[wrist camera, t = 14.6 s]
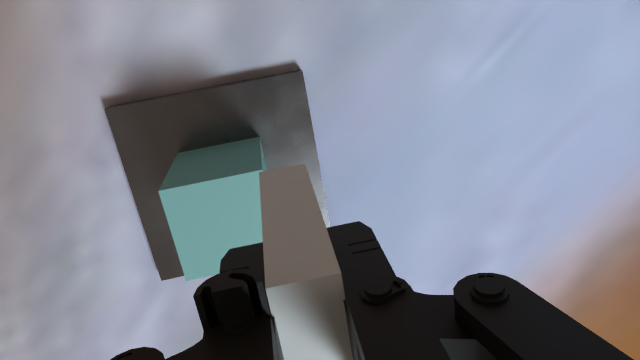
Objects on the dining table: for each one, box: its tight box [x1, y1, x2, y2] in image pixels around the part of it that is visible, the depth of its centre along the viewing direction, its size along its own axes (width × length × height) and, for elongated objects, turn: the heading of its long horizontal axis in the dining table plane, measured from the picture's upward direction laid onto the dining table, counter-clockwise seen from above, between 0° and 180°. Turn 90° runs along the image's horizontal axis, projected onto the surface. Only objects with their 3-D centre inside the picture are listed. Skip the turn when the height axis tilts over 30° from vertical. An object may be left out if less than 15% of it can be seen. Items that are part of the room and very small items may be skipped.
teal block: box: [158, 137, 267, 281], centre depth 28 cm, size 5×5×7 cm
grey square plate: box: [105, 70, 330, 281], centre depth 29 cm, size 12×12×6 cm
